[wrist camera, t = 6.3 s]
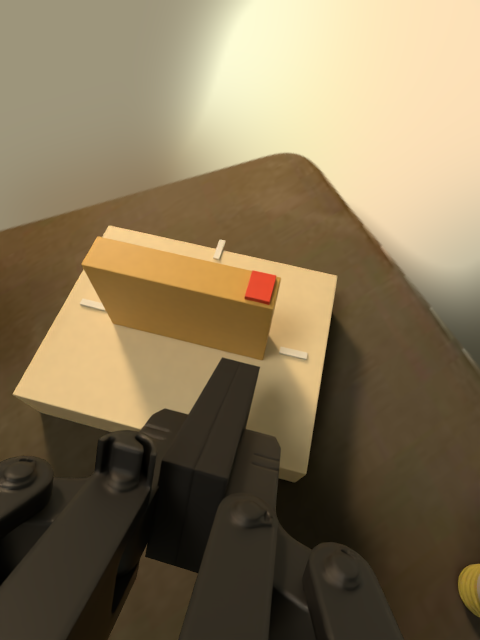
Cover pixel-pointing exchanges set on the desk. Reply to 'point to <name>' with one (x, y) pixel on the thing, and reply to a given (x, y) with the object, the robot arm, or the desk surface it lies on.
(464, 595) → the light bulb
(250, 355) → the lock knob
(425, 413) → the desk surface
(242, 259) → the lock plate
